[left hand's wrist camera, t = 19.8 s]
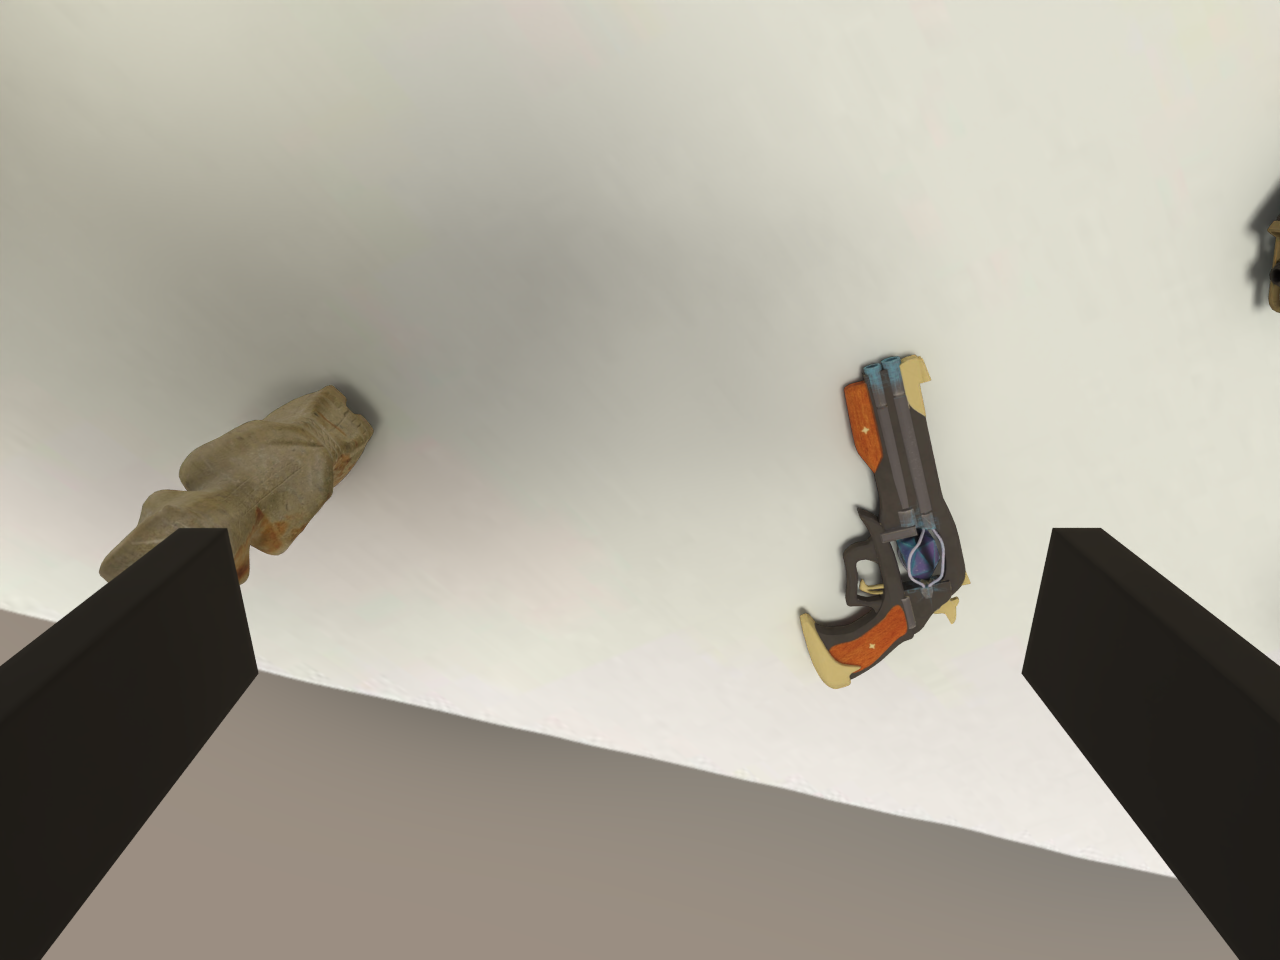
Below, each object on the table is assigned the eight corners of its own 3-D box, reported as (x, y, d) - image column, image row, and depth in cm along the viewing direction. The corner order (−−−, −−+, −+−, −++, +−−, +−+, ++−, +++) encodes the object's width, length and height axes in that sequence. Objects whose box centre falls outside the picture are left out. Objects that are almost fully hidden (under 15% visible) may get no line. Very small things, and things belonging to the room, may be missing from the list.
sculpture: (237, 429, 43) (45, 551, 29) (333, 356, 42) (179, 448, 28) (310, 508, 45) (162, 659, 31) (405, 441, 44) (295, 568, 30)
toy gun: (821, 702, 47) (994, 670, 45) (737, 407, 42) (929, 354, 39) (818, 676, 50) (981, 645, 47) (738, 395, 44) (918, 345, 42)
